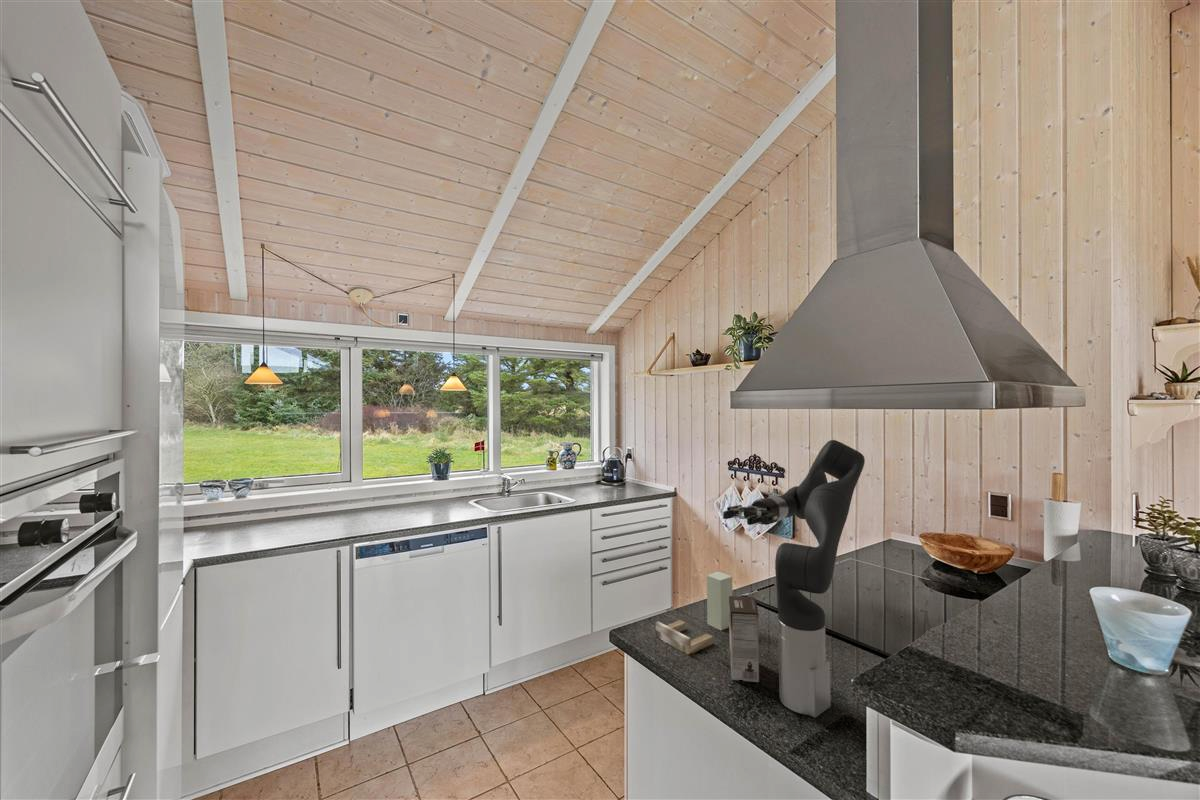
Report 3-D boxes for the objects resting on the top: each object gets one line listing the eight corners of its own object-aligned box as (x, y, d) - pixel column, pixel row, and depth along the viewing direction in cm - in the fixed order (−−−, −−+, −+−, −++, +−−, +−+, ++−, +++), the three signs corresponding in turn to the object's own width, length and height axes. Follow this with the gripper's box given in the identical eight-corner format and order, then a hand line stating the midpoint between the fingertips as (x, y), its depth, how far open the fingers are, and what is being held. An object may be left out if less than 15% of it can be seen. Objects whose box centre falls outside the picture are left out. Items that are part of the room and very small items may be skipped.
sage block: (732, 625, 140) (732, 576, 140) (721, 630, 137) (720, 580, 137) (719, 619, 144) (718, 571, 144) (707, 624, 141) (706, 575, 141)
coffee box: (729, 659, 122) (728, 594, 122) (756, 661, 120) (755, 596, 120) (731, 680, 113) (730, 610, 113) (760, 683, 111) (759, 612, 111)
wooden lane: (712, 643, 129) (712, 628, 129) (688, 655, 124) (688, 639, 124) (680, 627, 139) (679, 612, 139) (655, 636, 134) (655, 622, 134)
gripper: (750, 494, 157) (716, 501, 147) (790, 501, 145) (756, 509, 136) (750, 517, 157) (716, 526, 147) (790, 526, 145) (757, 536, 136)
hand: (735, 518), depth 141 cm, fingers open, 8 cm apart
